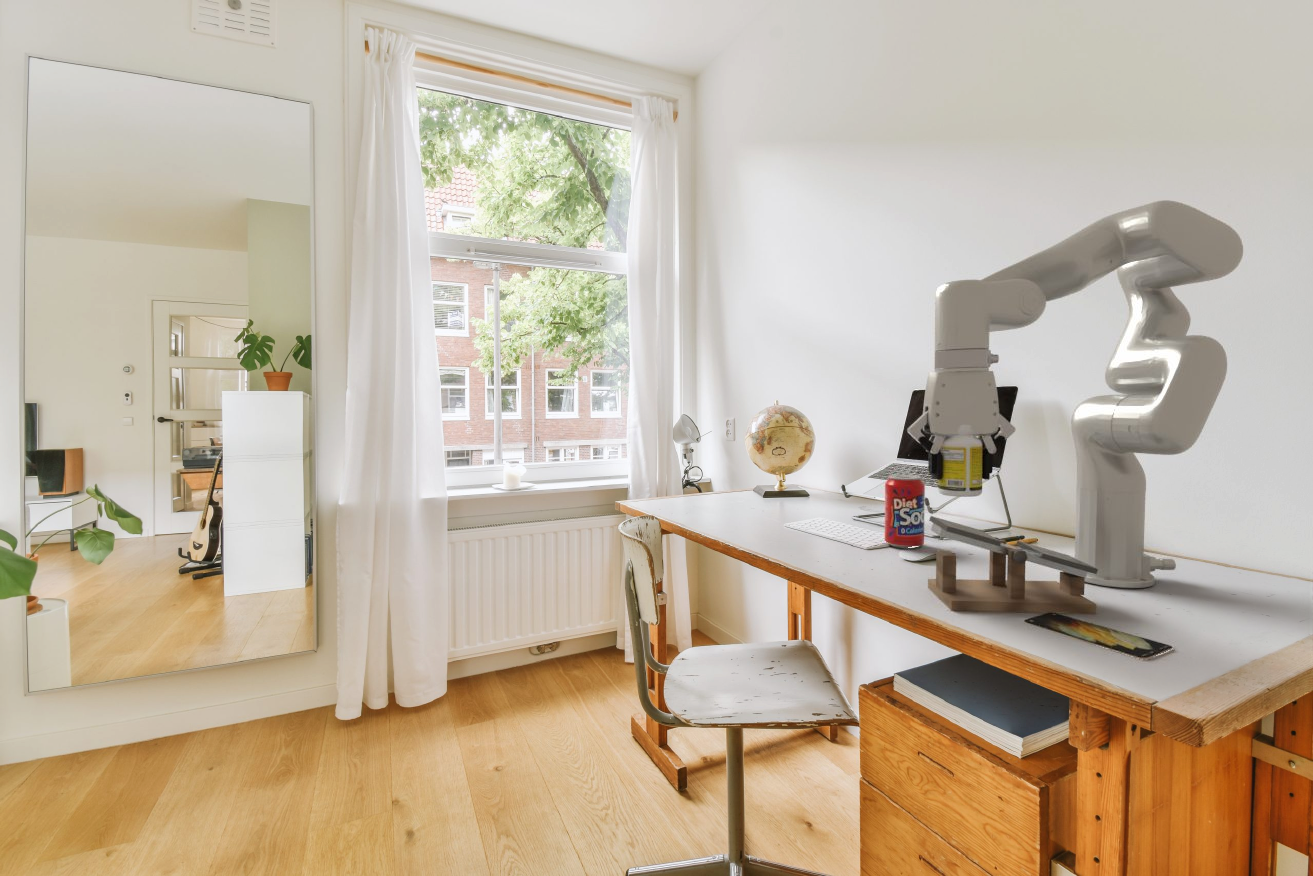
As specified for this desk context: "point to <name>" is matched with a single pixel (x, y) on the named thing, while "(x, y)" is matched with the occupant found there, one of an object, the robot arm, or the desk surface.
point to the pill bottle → (961, 464)
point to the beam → (1010, 547)
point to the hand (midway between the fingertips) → (959, 477)
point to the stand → (1008, 588)
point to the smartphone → (1099, 635)
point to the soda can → (904, 511)
